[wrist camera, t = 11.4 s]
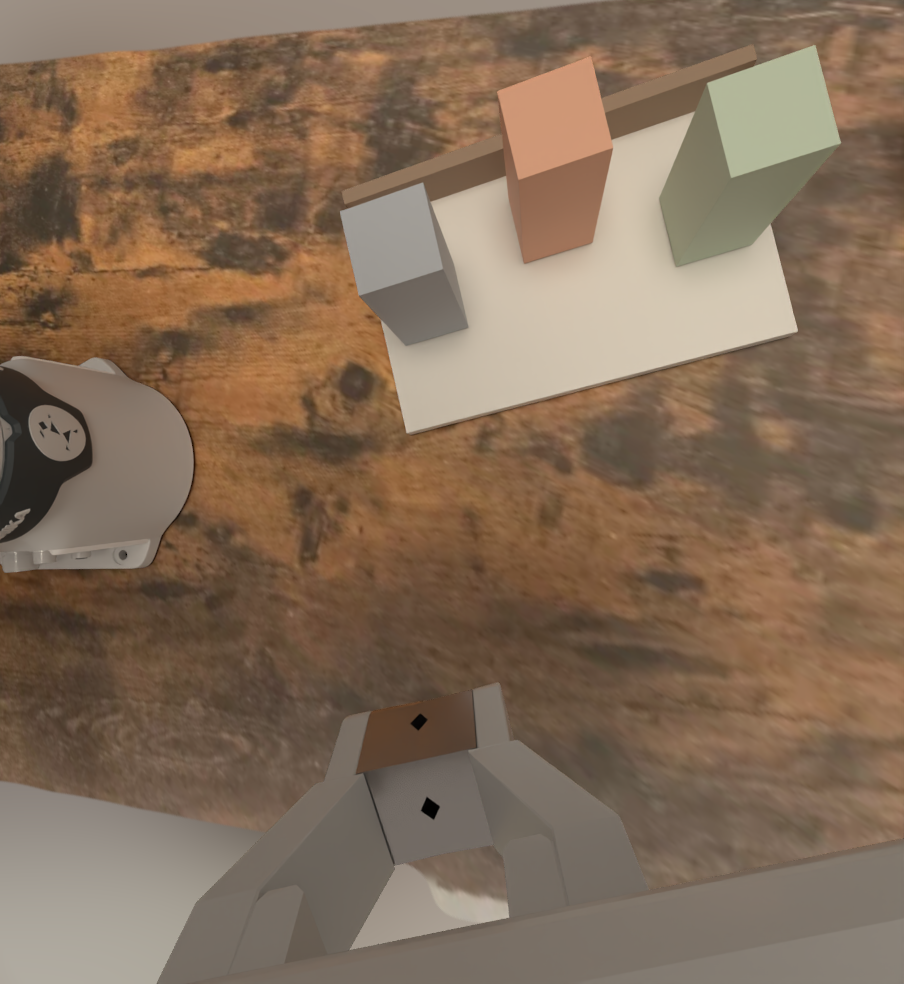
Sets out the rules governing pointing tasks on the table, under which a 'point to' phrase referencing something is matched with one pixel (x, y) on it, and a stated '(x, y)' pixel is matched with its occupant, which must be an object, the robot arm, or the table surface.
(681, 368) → the table surface
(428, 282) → the blue-grey block
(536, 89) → the terracotta rectangular block
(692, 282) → the cream board with rail
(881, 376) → the table surface
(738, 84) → the sage green block
